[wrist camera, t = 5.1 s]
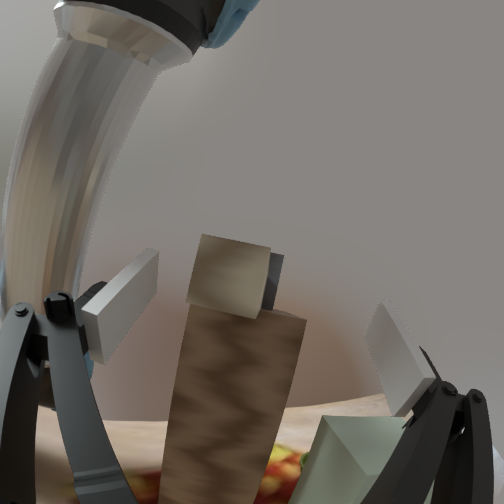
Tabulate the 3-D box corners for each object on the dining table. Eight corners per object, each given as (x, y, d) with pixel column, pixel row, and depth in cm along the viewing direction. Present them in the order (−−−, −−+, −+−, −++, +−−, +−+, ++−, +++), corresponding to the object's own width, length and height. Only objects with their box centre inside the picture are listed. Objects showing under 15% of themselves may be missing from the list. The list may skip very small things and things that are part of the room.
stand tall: (156, 524, 18) (192, 295, 23) (174, 473, 31) (208, 294, 36) (237, 540, 19) (307, 320, 23) (237, 486, 31) (283, 311, 36)
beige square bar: (162, 296, 13) (191, 184, 14) (224, 298, 35) (234, 253, 36) (281, 324, 13) (304, 205, 14) (271, 309, 35) (280, 262, 35)
